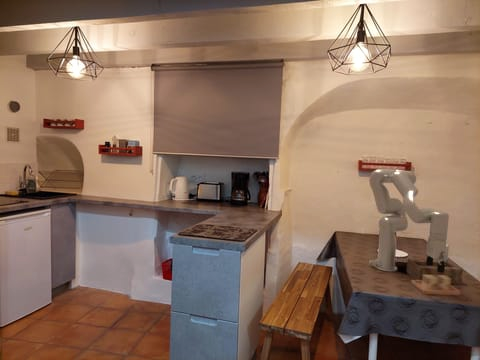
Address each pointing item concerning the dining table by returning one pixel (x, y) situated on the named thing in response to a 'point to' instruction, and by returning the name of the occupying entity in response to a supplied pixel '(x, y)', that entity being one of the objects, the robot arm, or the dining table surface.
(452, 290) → the terracotta tray
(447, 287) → the maple block
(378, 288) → the dining table surface
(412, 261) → the walnut pocket jig
